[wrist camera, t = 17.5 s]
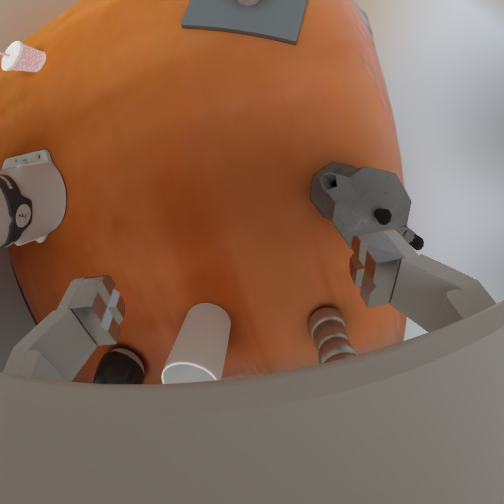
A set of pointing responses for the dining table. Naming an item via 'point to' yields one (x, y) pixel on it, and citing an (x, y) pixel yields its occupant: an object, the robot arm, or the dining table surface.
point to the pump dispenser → (119, 368)
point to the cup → (199, 346)
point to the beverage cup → (22, 58)
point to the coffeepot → (363, 201)
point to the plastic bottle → (330, 335)
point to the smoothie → (248, 2)
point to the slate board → (248, 18)
